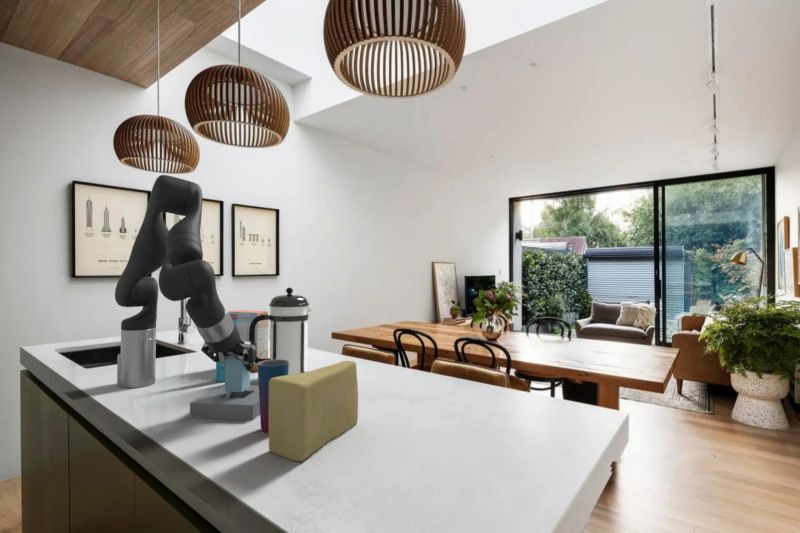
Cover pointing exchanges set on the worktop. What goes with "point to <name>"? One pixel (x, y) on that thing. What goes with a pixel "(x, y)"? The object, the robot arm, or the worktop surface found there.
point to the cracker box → (260, 331)
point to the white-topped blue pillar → (236, 375)
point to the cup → (265, 373)
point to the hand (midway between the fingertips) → (241, 367)
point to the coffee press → (286, 330)
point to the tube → (222, 366)
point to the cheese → (311, 409)
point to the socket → (227, 404)
